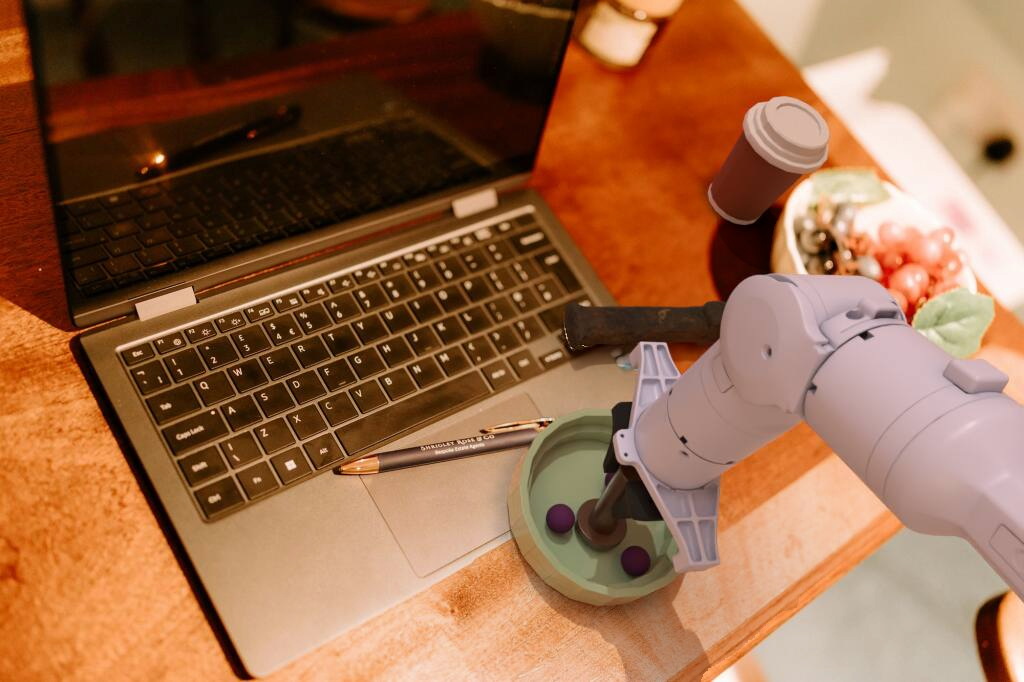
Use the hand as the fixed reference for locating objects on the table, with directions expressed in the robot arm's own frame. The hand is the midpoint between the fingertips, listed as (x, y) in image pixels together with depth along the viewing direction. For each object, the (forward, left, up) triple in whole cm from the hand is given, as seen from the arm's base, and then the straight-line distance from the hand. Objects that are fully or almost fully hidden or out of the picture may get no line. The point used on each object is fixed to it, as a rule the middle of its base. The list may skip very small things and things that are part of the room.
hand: (619, 490), depth 51 cm
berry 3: (-4, -2, -4) cm, 6 cm away
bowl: (0, 0, -5) cm, 5 cm away
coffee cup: (+34, -23, -6) cm, 41 cm away
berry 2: (+2, -2, -4) cm, 5 cm away
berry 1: (-1, +3, -4) cm, 5 cm away
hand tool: (+17, -9, -6) cm, 20 cm away
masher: (-1, 0, -5) cm, 5 cm away
